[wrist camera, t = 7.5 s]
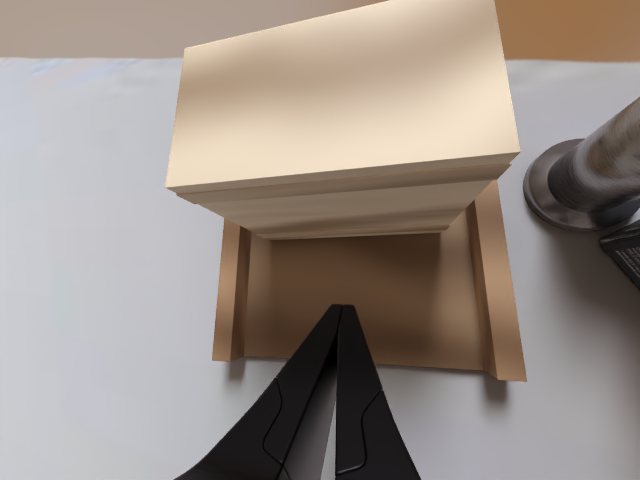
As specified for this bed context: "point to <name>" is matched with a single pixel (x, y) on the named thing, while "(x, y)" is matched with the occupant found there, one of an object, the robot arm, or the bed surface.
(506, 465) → the bed surface
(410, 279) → the bay
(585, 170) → the flanged metal cylinder
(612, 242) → the small box
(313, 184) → the pale wooden box
